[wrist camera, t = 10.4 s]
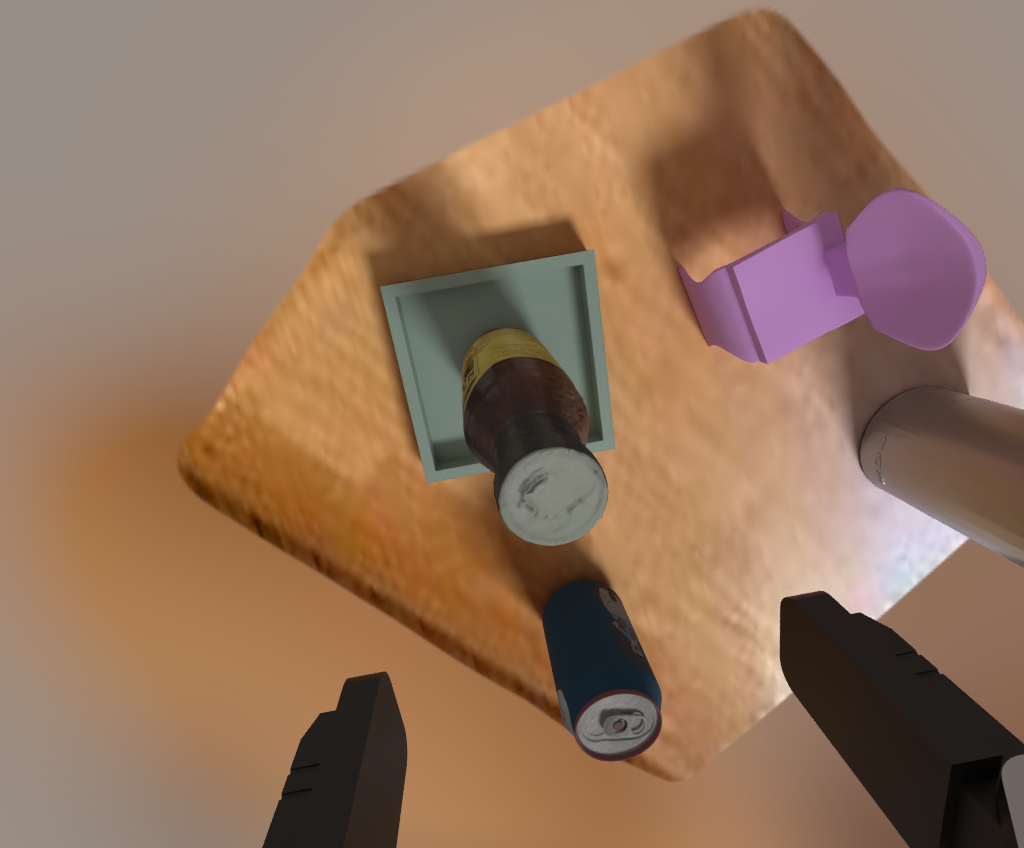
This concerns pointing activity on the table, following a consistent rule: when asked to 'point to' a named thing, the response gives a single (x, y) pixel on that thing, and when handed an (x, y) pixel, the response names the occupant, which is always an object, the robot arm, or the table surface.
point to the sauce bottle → (531, 438)
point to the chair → (846, 280)
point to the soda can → (601, 672)
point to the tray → (477, 309)
